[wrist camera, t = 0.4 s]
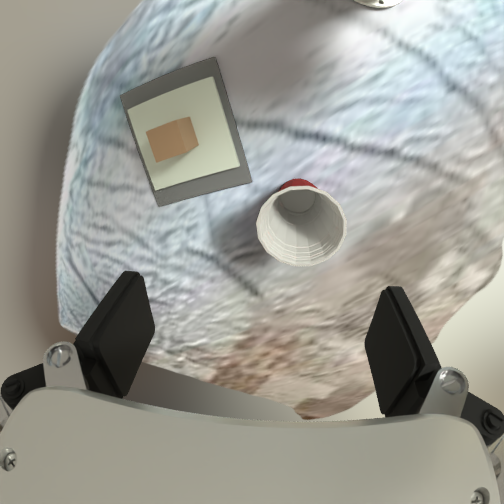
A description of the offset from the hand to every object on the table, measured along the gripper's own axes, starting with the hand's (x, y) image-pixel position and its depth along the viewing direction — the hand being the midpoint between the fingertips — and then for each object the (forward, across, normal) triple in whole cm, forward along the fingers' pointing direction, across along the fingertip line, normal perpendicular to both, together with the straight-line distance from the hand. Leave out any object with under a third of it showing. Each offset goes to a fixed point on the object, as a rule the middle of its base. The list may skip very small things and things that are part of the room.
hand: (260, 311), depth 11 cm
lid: (+34, +13, -3) cm, 37 cm away
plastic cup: (+35, -4, +6) cm, 35 cm away
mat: (+34, +13, -3) cm, 37 cm away
